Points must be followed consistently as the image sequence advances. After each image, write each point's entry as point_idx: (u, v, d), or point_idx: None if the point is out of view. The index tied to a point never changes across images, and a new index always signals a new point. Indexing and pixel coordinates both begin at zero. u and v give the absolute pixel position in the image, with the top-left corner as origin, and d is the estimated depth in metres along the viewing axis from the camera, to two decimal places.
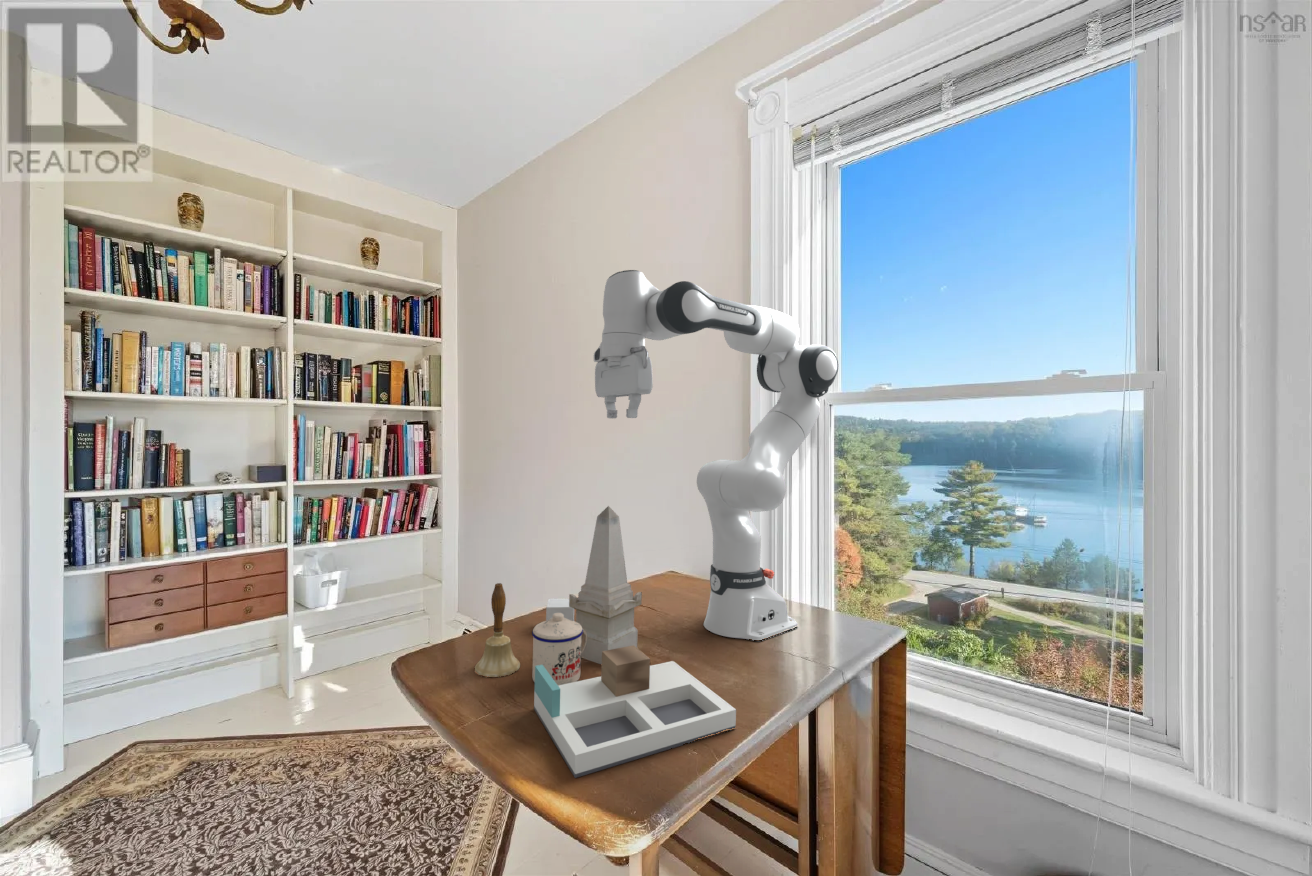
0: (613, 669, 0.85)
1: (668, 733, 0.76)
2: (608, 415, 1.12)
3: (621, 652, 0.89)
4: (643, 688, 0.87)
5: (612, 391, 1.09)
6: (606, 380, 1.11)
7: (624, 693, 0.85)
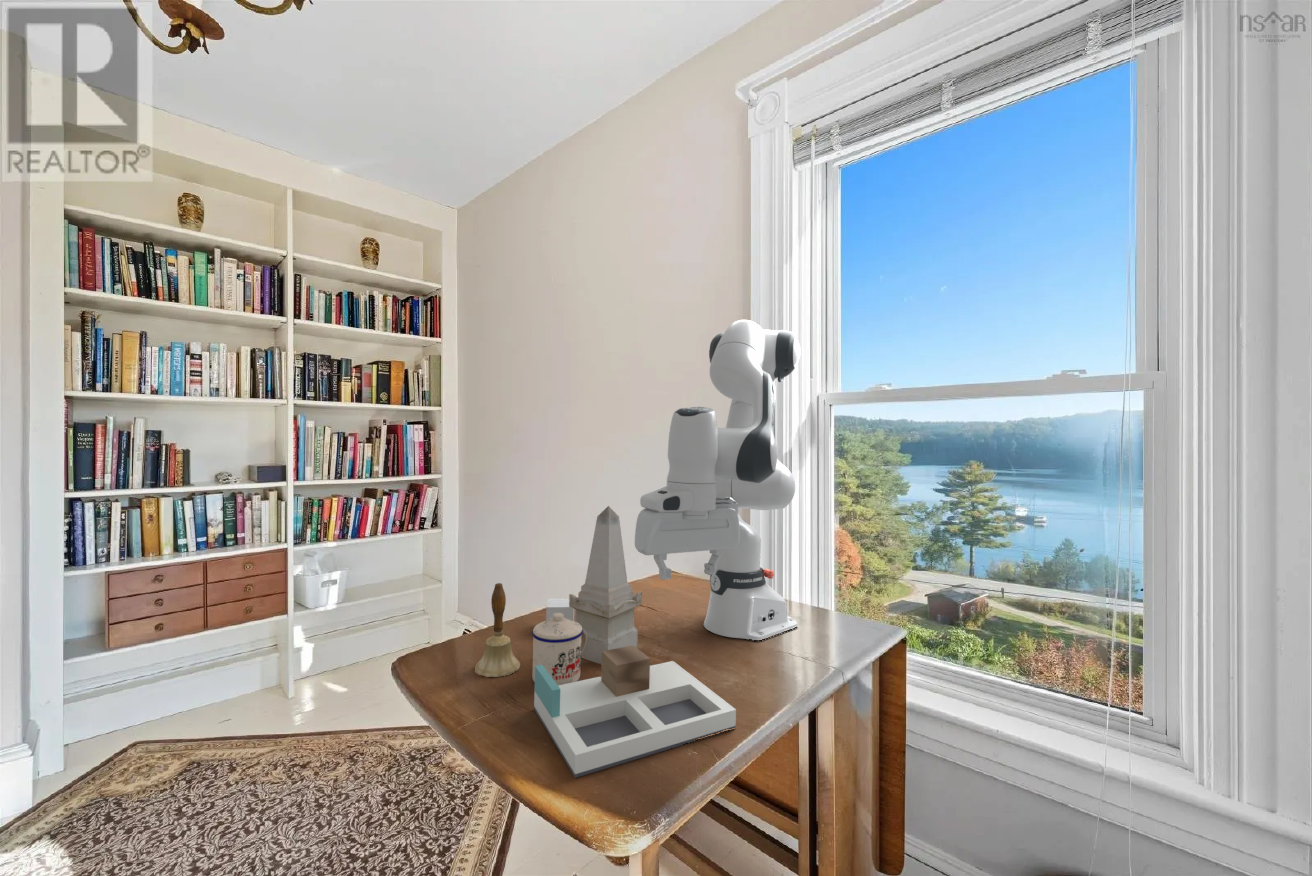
0: (613, 669, 0.85)
1: (668, 733, 0.76)
2: (668, 576, 0.91)
3: (621, 652, 0.89)
4: (643, 688, 0.87)
5: (690, 548, 0.92)
6: (674, 534, 0.90)
7: (624, 693, 0.85)
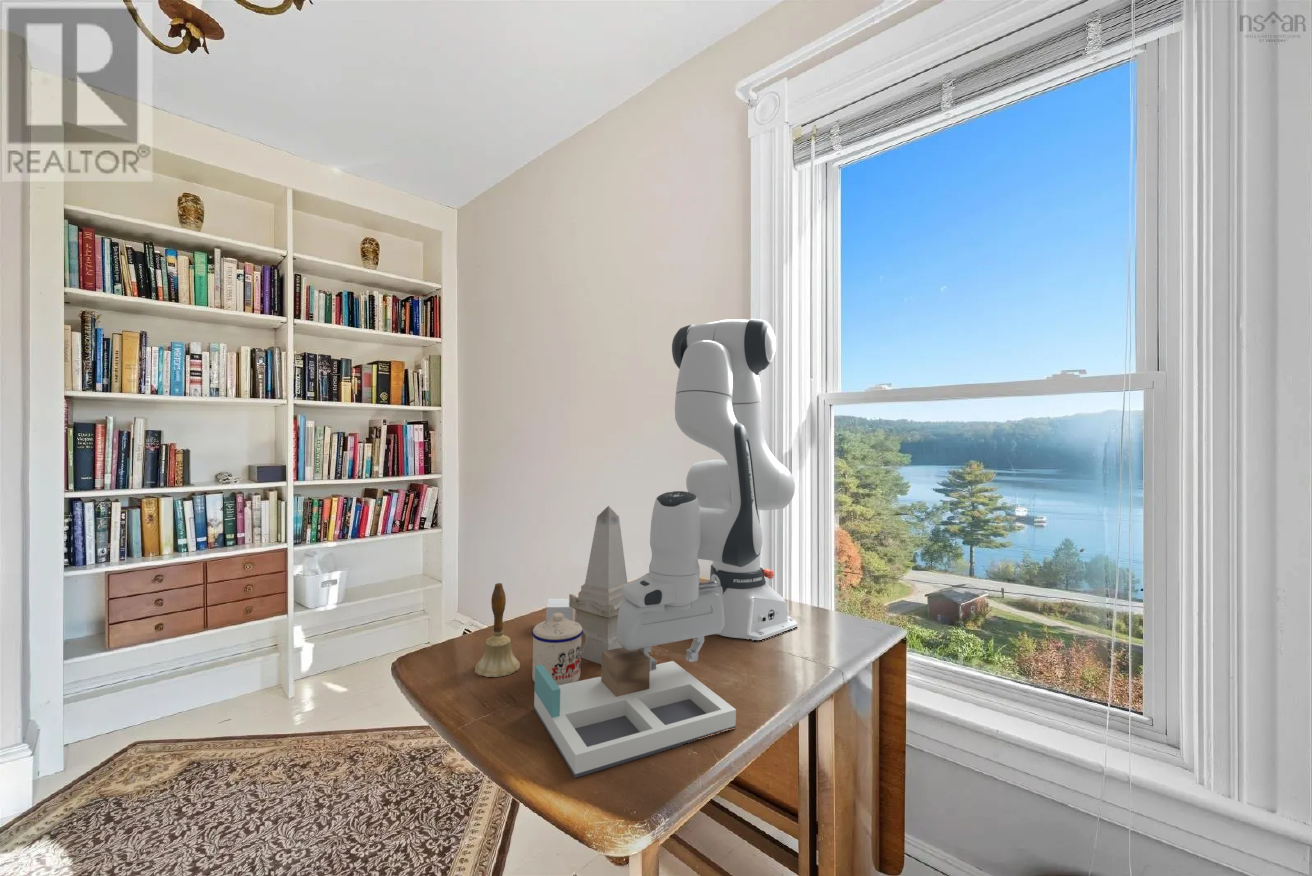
0: (613, 669, 0.85)
1: (668, 733, 0.76)
2: (653, 668, 0.90)
3: (621, 652, 0.89)
4: (643, 688, 0.87)
5: (672, 638, 0.90)
6: (656, 626, 0.89)
7: (624, 693, 0.85)
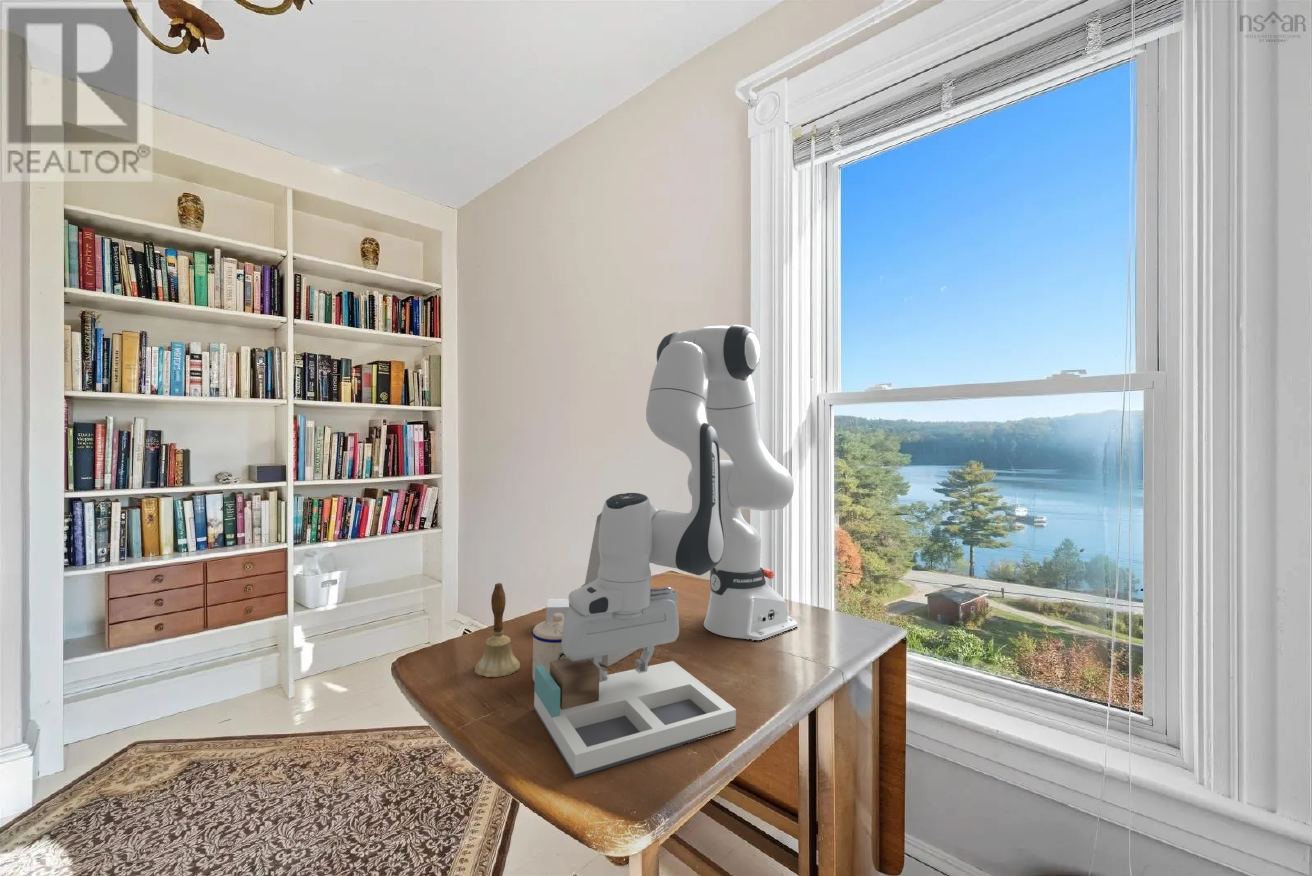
0: (559, 680, 0.81)
1: (668, 733, 0.76)
2: (604, 678, 0.85)
3: (570, 662, 0.85)
4: (592, 700, 0.82)
5: (621, 648, 0.86)
6: (604, 635, 0.84)
7: (571, 706, 0.81)
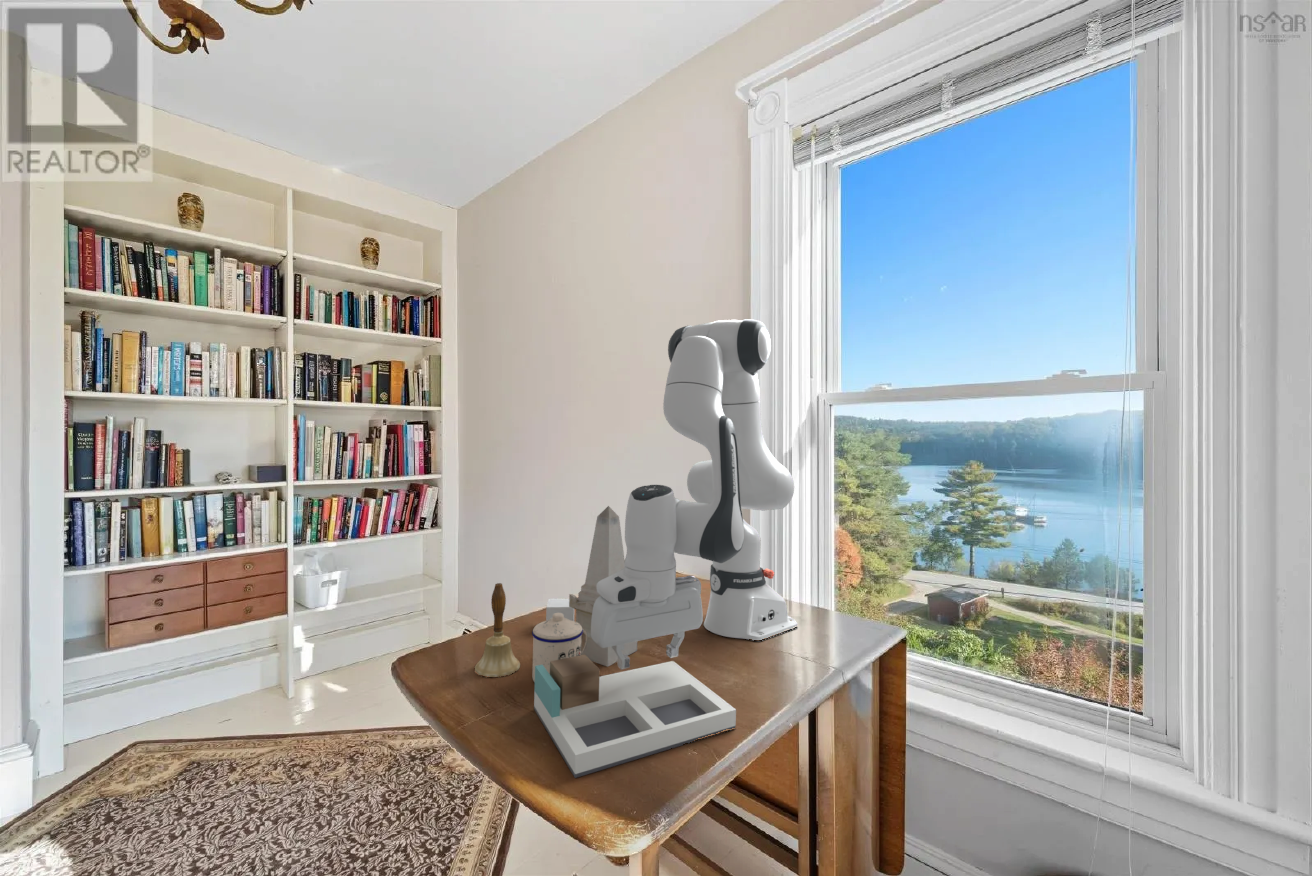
0: (560, 680, 0.81)
1: (668, 733, 0.76)
2: (626, 665, 0.88)
3: (570, 662, 0.85)
4: (592, 700, 0.82)
5: (648, 635, 0.88)
6: (631, 623, 0.87)
7: (571, 706, 0.81)
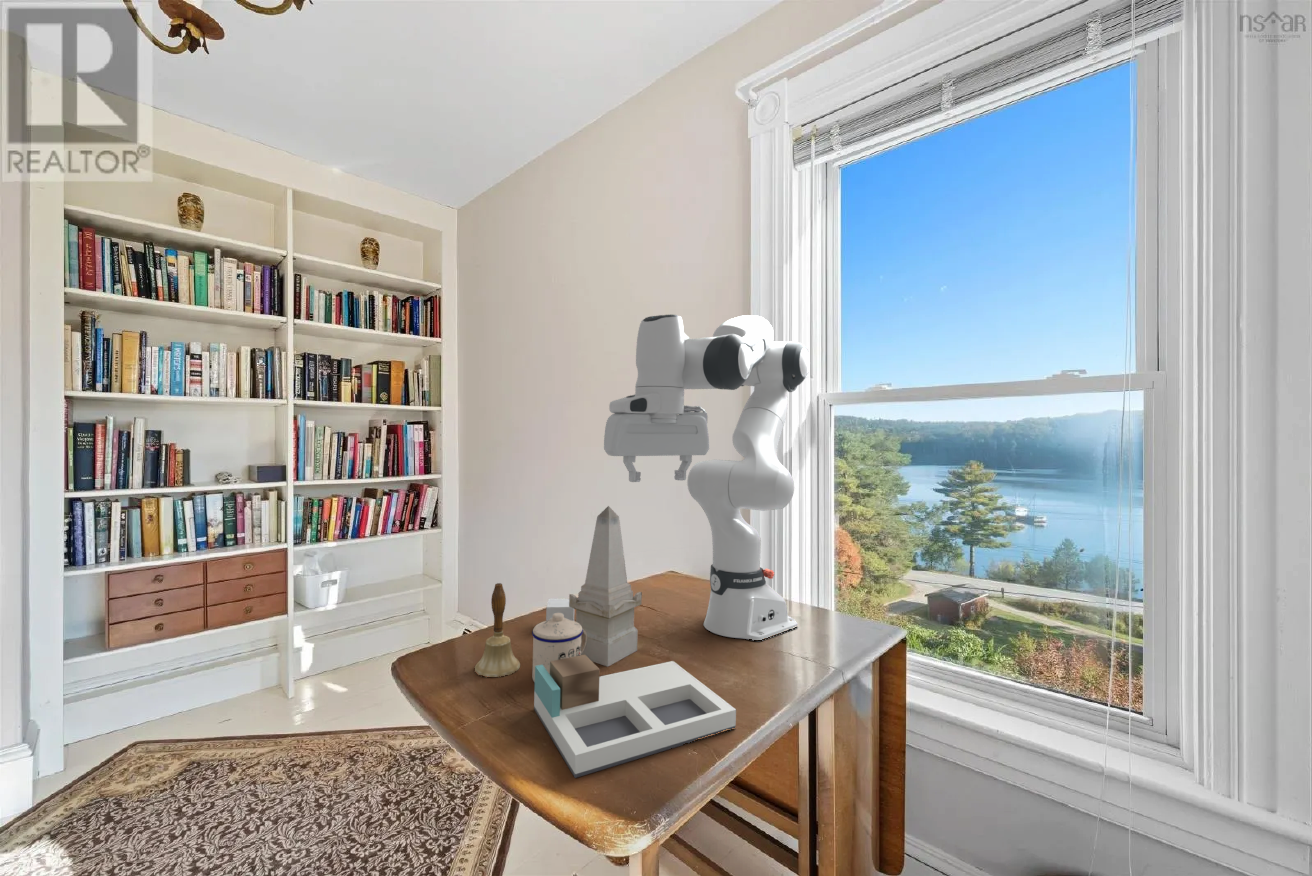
0: (560, 680, 0.81)
1: (668, 733, 0.76)
2: (637, 478, 0.93)
3: (570, 662, 0.85)
4: (592, 700, 0.82)
5: (658, 451, 0.94)
6: (642, 436, 0.92)
7: (571, 706, 0.81)
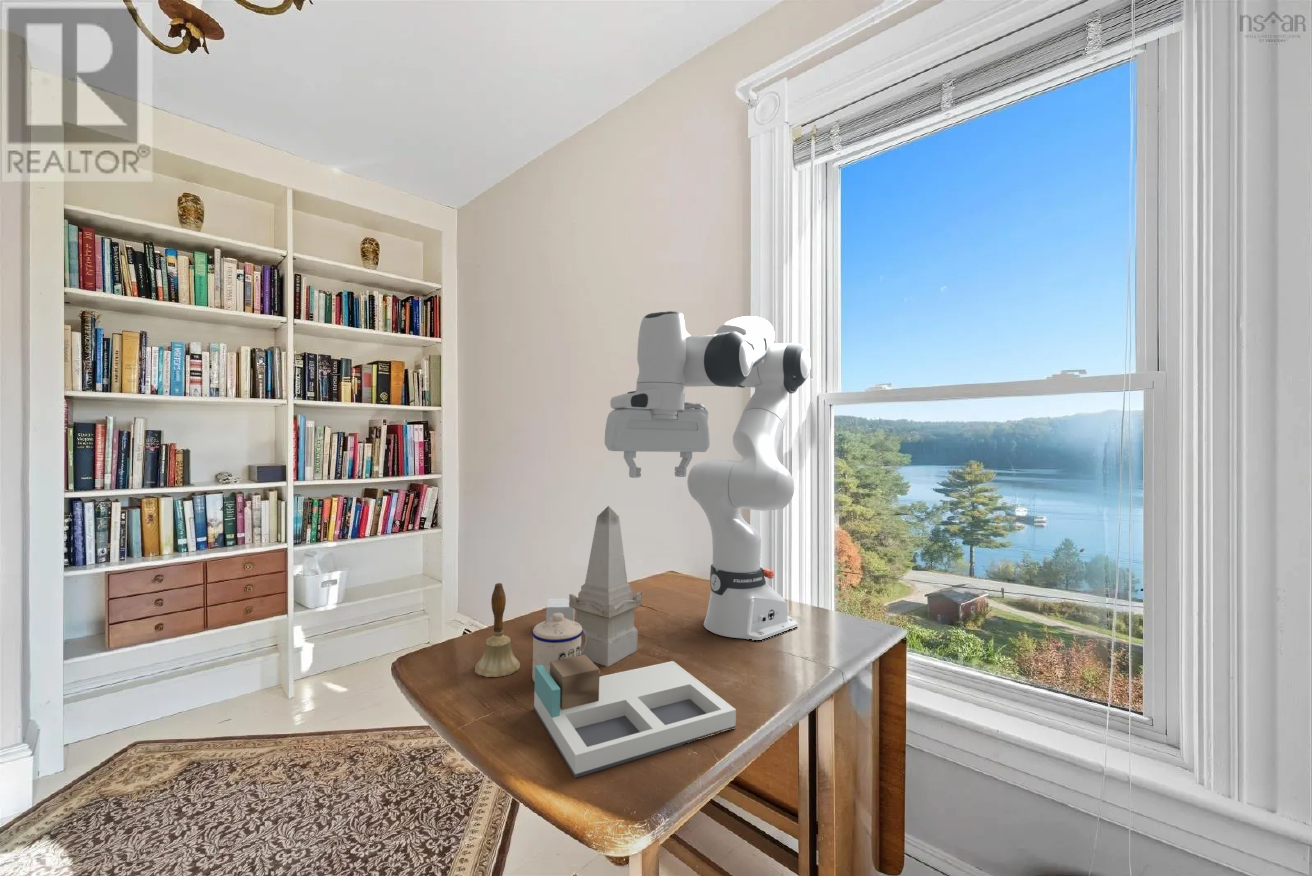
0: (560, 680, 0.81)
1: (668, 733, 0.76)
2: (637, 474, 0.93)
3: (570, 662, 0.85)
4: (592, 700, 0.82)
5: (659, 447, 0.94)
6: (643, 432, 0.92)
7: (571, 706, 0.81)
